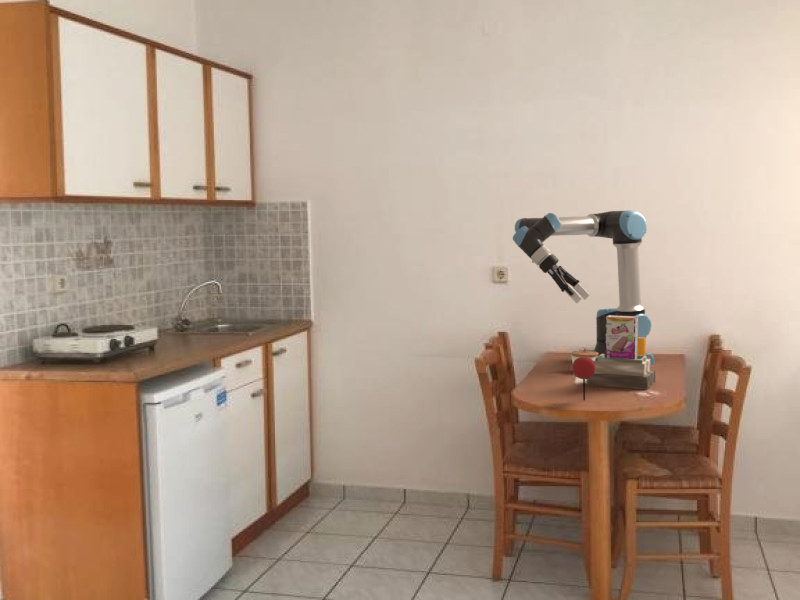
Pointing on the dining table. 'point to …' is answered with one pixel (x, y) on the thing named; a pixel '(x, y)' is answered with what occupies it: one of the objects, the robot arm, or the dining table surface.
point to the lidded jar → (584, 354)
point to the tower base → (622, 381)
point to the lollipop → (583, 369)
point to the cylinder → (643, 349)
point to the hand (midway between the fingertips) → (583, 299)
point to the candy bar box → (621, 337)
